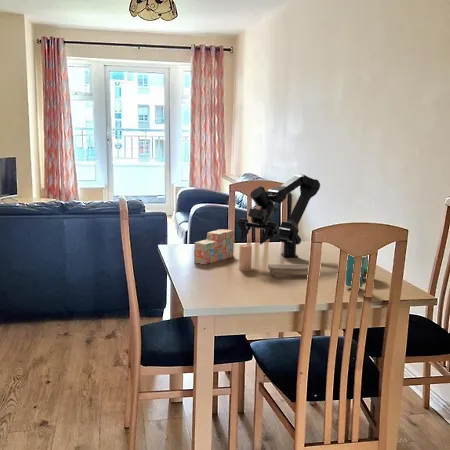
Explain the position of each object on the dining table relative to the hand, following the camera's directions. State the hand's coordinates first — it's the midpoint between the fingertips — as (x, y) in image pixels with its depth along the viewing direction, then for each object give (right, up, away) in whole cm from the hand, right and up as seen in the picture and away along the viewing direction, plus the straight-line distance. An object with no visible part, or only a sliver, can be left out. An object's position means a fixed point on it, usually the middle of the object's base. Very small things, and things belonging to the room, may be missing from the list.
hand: (250, 242), depth 219 cm
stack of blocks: (-15, -8, +15) cm, 23 cm away
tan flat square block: (+16, -12, -5) cm, 21 cm away
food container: (+45, -14, -11) cm, 48 cm away
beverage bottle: (+37, -16, -26) cm, 48 cm away
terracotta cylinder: (-2, -11, -1) cm, 11 cm away
